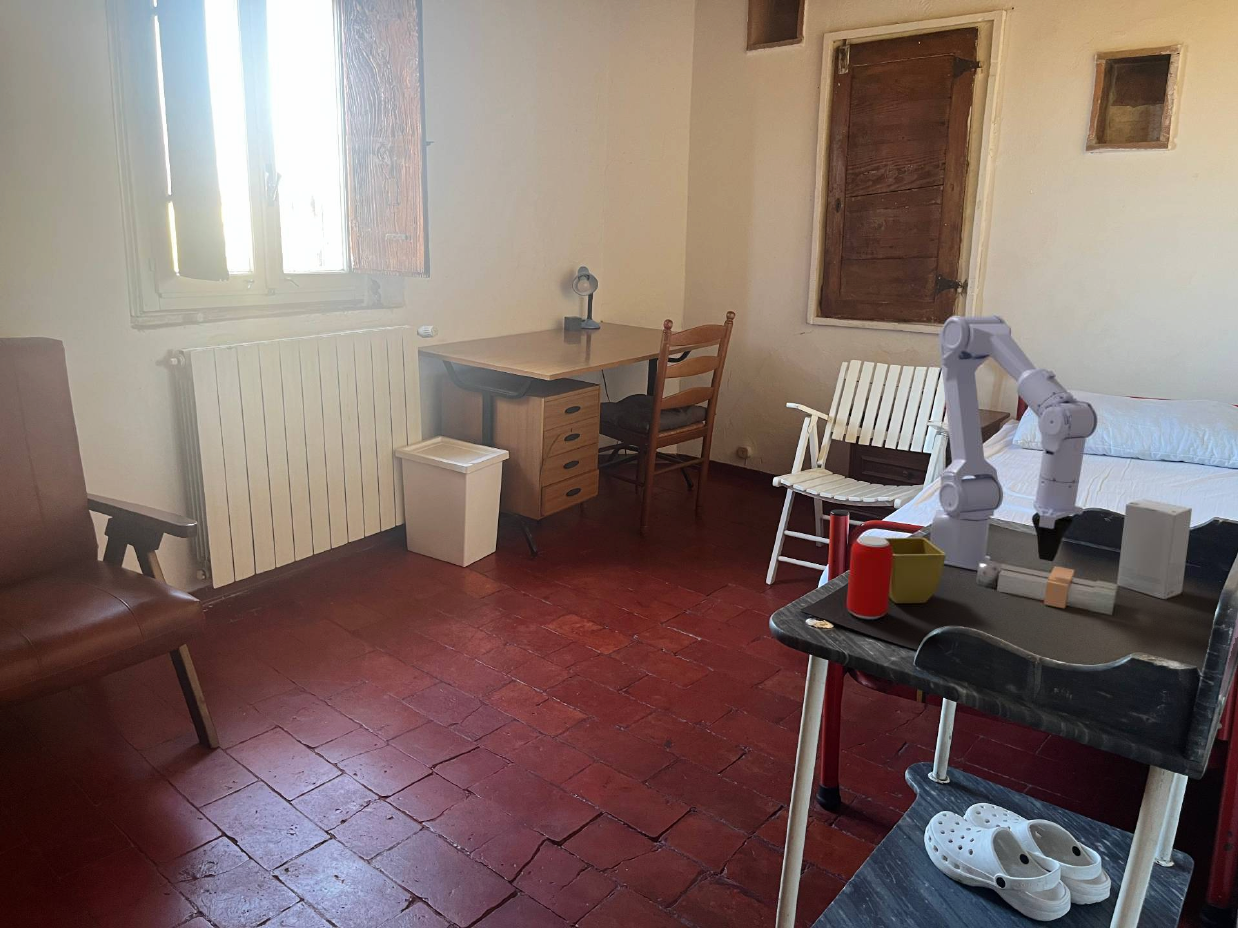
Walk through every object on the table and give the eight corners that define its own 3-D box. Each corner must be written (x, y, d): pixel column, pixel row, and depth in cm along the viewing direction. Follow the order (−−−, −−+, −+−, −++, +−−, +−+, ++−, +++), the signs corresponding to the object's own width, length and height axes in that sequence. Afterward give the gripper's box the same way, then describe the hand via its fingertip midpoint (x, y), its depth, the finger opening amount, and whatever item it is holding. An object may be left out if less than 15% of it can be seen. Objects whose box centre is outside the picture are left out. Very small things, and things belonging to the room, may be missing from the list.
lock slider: (1043, 604, 146) (1047, 580, 145) (1051, 588, 153) (1054, 565, 152) (1064, 608, 144) (1068, 584, 143) (1071, 592, 151) (1074, 569, 150)
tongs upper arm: (974, 584, 154) (976, 564, 153) (980, 575, 158) (982, 556, 157) (1112, 612, 144) (1115, 591, 143) (1114, 602, 147) (1118, 582, 147)
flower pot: (868, 588, 152) (872, 536, 149) (919, 587, 152) (924, 536, 150) (887, 609, 143) (893, 555, 141) (941, 608, 144) (947, 554, 142)
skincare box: (1181, 594, 152) (1197, 508, 148) (1163, 601, 149) (1178, 514, 145) (1131, 578, 159) (1144, 496, 155) (1112, 584, 155) (1125, 501, 152)
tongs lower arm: (996, 591, 151) (998, 573, 151) (999, 586, 154) (1002, 568, 153) (1111, 614, 143) (1114, 595, 142) (1113, 609, 145) (1116, 590, 144)
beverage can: (840, 615, 140) (846, 541, 137) (854, 602, 145) (860, 531, 142) (878, 625, 137) (885, 549, 134) (892, 612, 142) (899, 539, 139)
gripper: (1081, 492, 135) (1067, 578, 139) (1092, 472, 147) (1079, 551, 151) (1030, 484, 139) (1018, 568, 143) (1045, 465, 151) (1034, 543, 154)
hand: (1046, 559), depth 147 cm, fingers closed
